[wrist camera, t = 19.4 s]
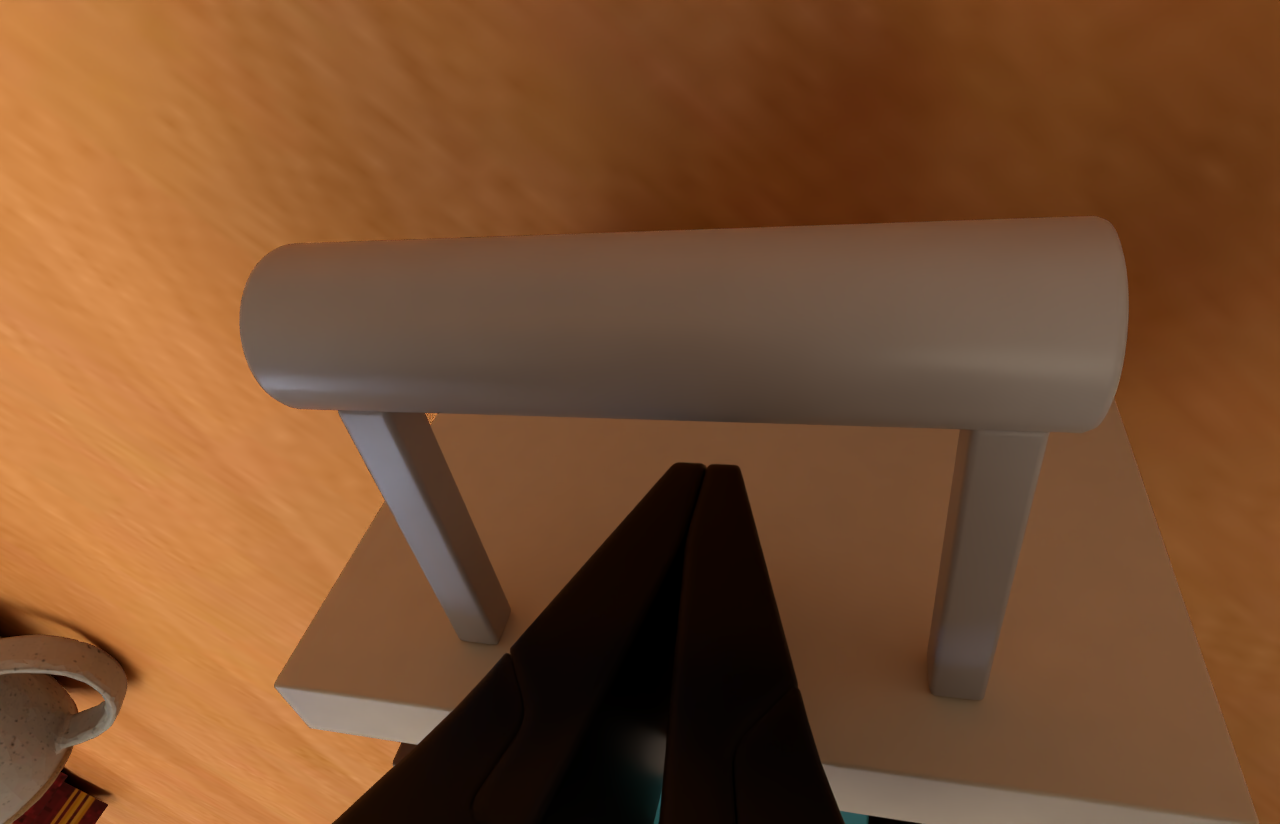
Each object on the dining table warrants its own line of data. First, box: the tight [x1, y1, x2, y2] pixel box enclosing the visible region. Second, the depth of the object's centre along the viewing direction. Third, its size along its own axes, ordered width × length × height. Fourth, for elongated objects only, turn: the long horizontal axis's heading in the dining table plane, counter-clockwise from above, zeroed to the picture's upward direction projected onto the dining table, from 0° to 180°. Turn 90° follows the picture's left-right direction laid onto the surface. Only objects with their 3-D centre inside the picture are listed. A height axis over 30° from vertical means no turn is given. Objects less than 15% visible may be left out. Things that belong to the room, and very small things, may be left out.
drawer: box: [240, 216, 1259, 824], centre depth 14 cm, size 19×11×7 cm, turn 9°
